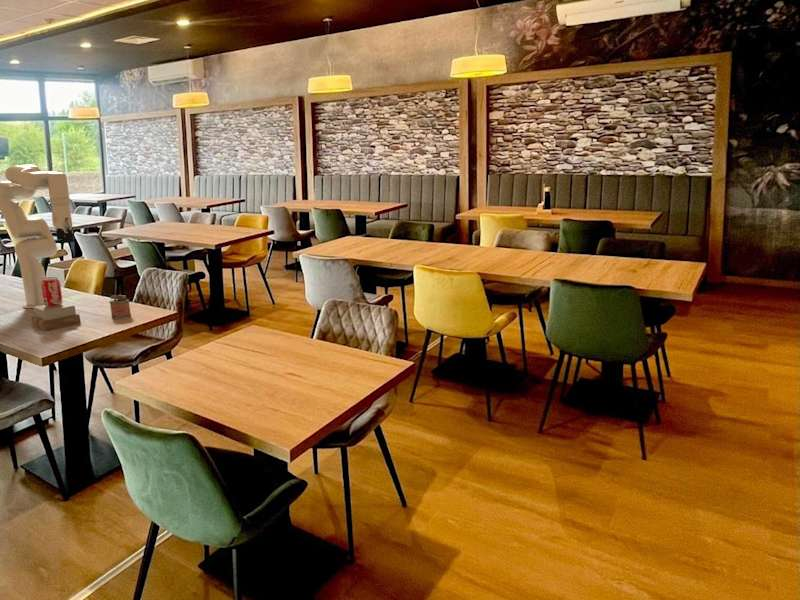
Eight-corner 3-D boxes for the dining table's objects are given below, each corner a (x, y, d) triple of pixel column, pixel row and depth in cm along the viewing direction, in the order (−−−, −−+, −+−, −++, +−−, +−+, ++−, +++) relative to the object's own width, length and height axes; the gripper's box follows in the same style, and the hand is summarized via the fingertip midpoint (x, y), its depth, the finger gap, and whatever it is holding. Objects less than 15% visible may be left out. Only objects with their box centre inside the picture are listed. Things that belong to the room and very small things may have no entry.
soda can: (66, 304, 273) (62, 276, 270) (56, 308, 266) (52, 280, 263) (51, 303, 273) (47, 276, 270) (40, 308, 267) (36, 280, 264)
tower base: (32, 325, 271) (31, 316, 270) (66, 317, 281) (65, 309, 280) (46, 331, 262) (44, 321, 261) (80, 323, 272) (79, 314, 271)
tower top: (34, 315, 270) (33, 306, 269) (64, 310, 279) (62, 301, 278) (46, 320, 262) (44, 311, 261) (75, 314, 271) (74, 305, 270)
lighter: (131, 315, 284) (129, 293, 281) (130, 317, 280) (127, 295, 278) (112, 316, 282) (109, 294, 279) (111, 318, 279) (108, 296, 276)
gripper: (43, 200, 277) (49, 239, 281) (58, 203, 266) (64, 244, 270) (61, 199, 282) (66, 237, 287) (77, 202, 271) (82, 242, 275)
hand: (65, 240), depth 278 cm, fingers open, 9 cm apart
